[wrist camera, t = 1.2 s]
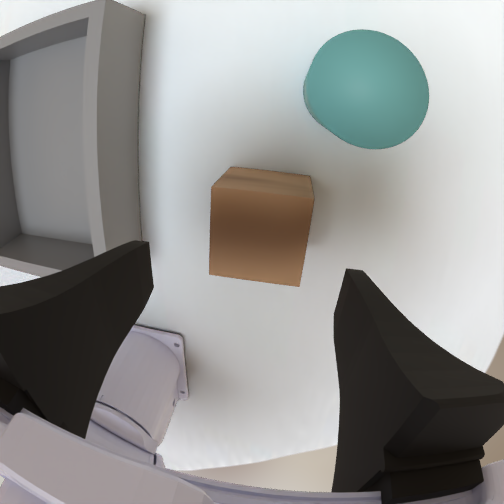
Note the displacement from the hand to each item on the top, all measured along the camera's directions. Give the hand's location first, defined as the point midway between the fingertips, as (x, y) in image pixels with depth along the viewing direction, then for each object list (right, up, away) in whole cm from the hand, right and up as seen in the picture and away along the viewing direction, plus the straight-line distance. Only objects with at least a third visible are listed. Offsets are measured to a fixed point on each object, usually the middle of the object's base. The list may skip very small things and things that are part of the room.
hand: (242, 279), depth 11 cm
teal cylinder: (+6, +10, +5) cm, 13 cm away
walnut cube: (+1, +4, +9) cm, 10 cm away
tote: (-14, +9, +9) cm, 19 cm away
